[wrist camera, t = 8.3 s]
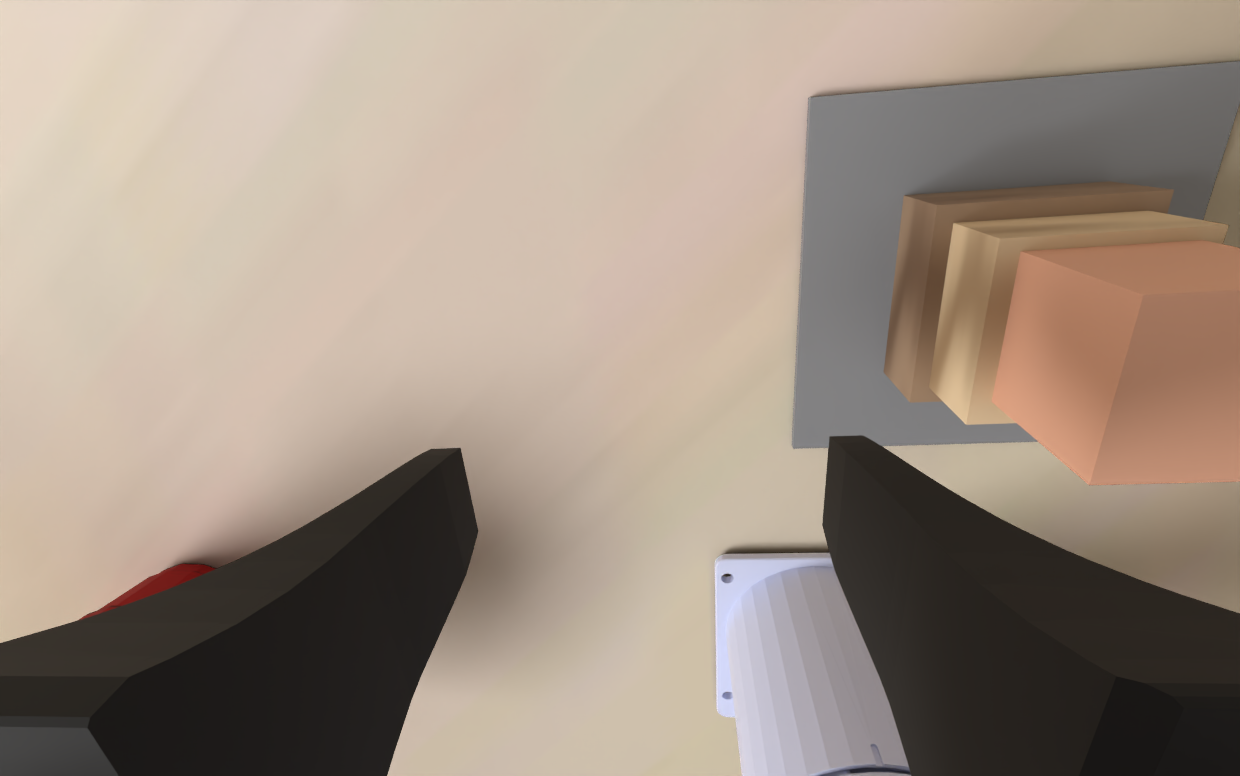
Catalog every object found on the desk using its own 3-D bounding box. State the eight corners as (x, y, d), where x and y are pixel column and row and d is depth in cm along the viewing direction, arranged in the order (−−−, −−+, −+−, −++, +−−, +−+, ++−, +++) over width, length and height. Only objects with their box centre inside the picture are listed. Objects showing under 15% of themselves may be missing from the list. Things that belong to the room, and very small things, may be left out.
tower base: (1064, 365, 20) (1114, 395, 18) (883, 372, 21) (910, 402, 19) (1109, 181, 18) (1173, 189, 16) (903, 195, 18) (937, 205, 16)
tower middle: (1101, 381, 18) (1164, 418, 16) (928, 387, 18) (965, 425, 16) (1148, 210, 16) (1229, 224, 14) (953, 222, 16) (999, 238, 14)
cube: (1202, 239, 14) (1394, 281, 10) (1153, 395, 15) (1304, 480, 12) (1020, 251, 14) (1143, 294, 10) (991, 401, 16) (1089, 484, 12)
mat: (1128, 434, 21) (1134, 438, 21) (791, 444, 23) (793, 448, 22) (1243, 60, 17) (1253, 60, 16) (808, 97, 18) (810, 97, 18)
